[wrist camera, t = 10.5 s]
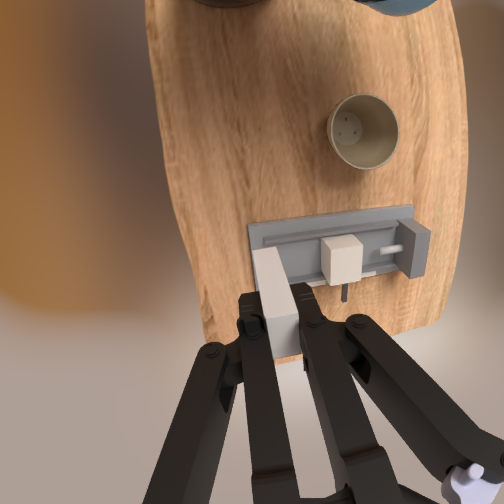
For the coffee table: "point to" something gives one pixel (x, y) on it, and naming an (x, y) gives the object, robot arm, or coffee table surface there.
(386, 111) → the flower pot
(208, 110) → the coffee table surface
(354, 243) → the cream block
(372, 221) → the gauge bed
